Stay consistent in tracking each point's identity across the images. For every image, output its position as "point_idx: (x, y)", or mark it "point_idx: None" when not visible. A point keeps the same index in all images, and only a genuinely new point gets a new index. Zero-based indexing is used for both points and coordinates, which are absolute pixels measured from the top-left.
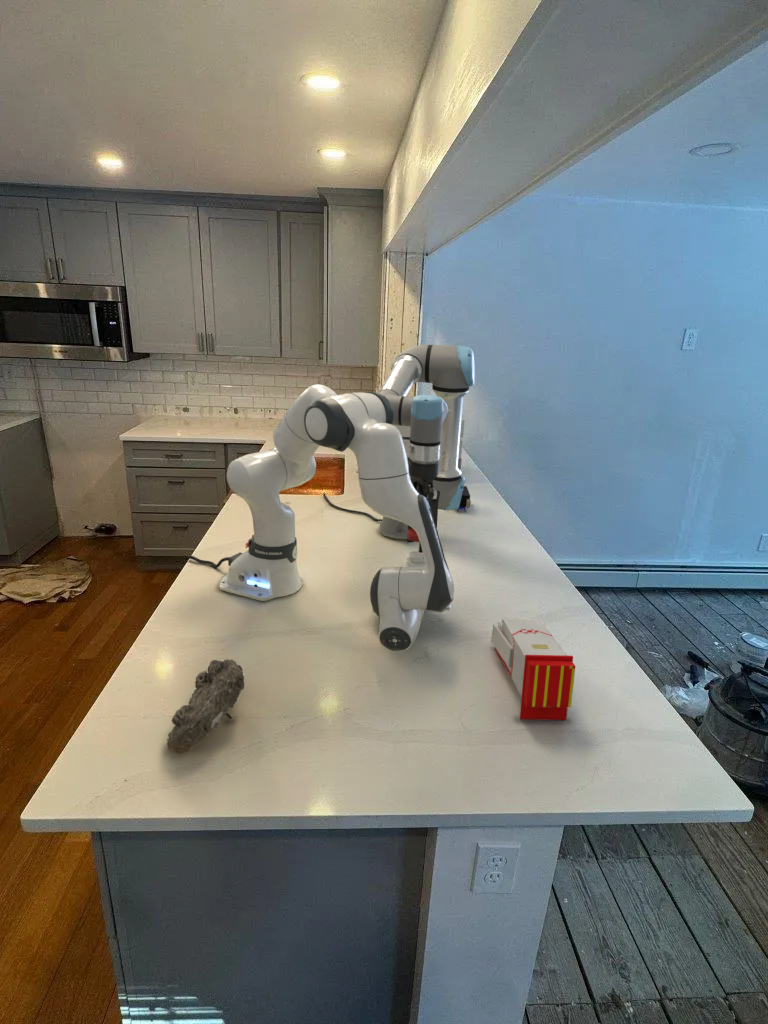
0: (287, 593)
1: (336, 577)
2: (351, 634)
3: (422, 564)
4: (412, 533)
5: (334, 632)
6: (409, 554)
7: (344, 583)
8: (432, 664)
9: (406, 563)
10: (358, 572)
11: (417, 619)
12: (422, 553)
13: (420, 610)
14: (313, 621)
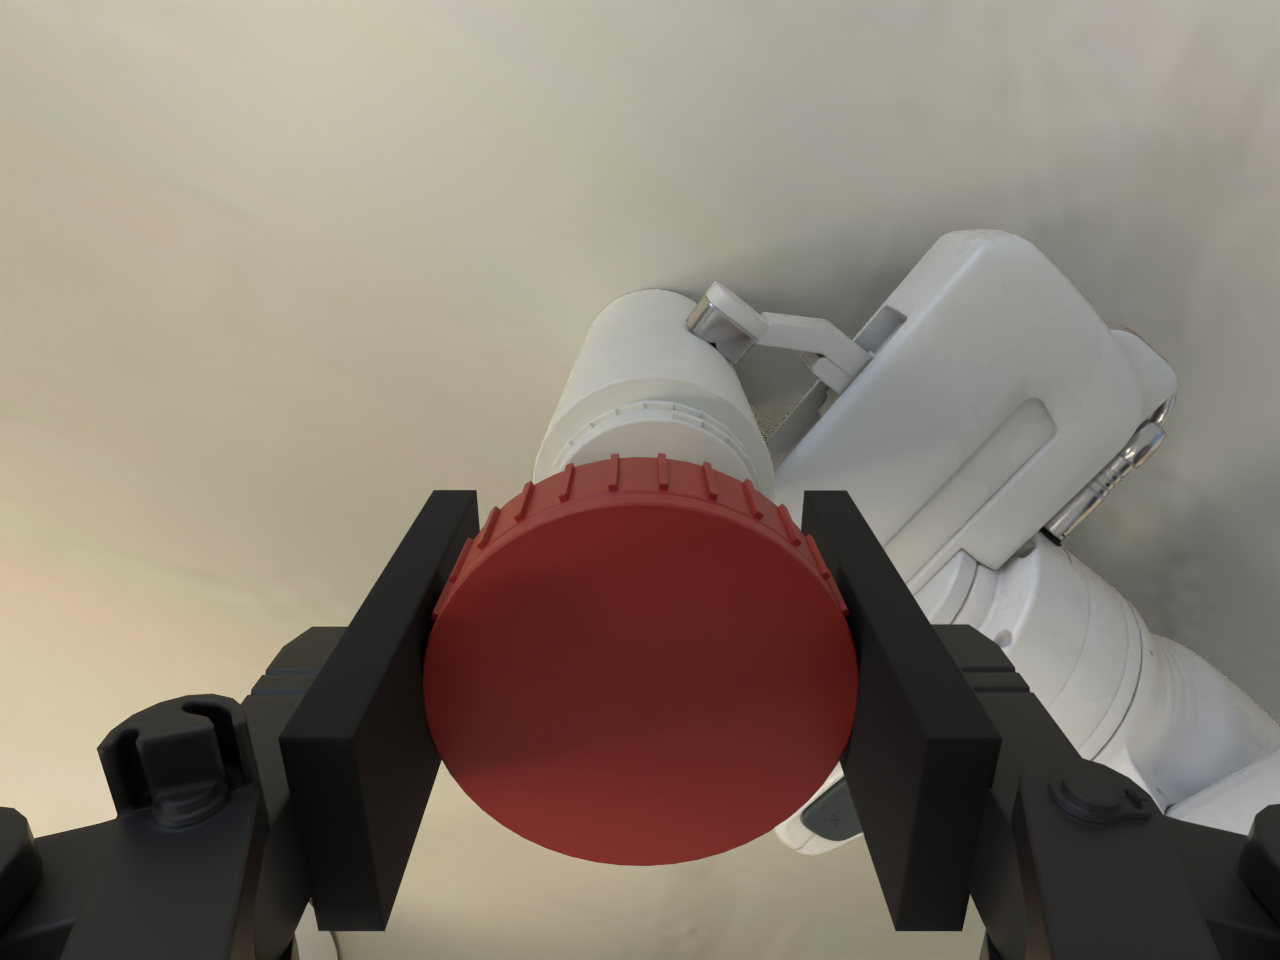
0: (323, 940)
1: (144, 658)
2: None
3: (773, 485)
4: (673, 826)
5: (749, 849)
6: None
7: (237, 643)
8: (1254, 566)
9: None
10: (83, 508)
11: (1269, 737)
12: (649, 450)
13: (1157, 649)
14: (615, 895)
